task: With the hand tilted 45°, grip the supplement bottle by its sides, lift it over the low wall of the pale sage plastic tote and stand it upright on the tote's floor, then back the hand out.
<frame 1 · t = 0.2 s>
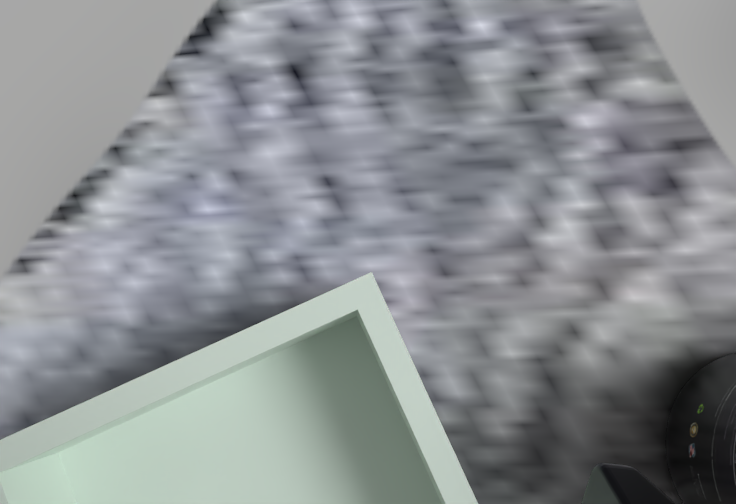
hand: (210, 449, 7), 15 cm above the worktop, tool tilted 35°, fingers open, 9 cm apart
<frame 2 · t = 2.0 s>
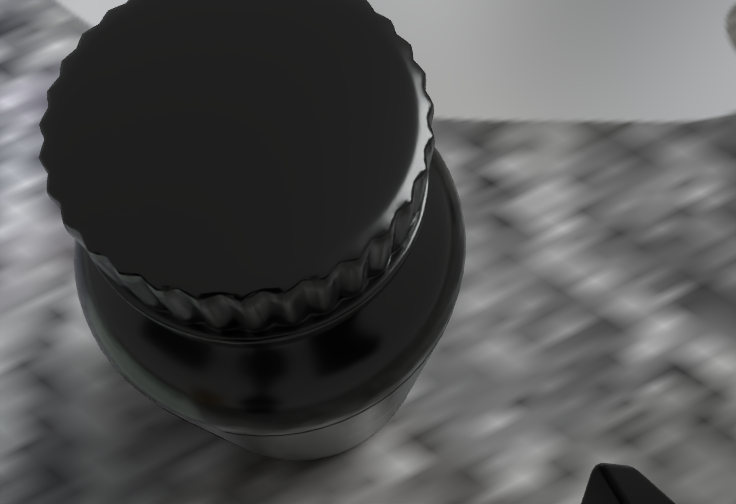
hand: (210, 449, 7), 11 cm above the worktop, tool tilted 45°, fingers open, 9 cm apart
supplement bottle: (301, 342, 19), on the worktop
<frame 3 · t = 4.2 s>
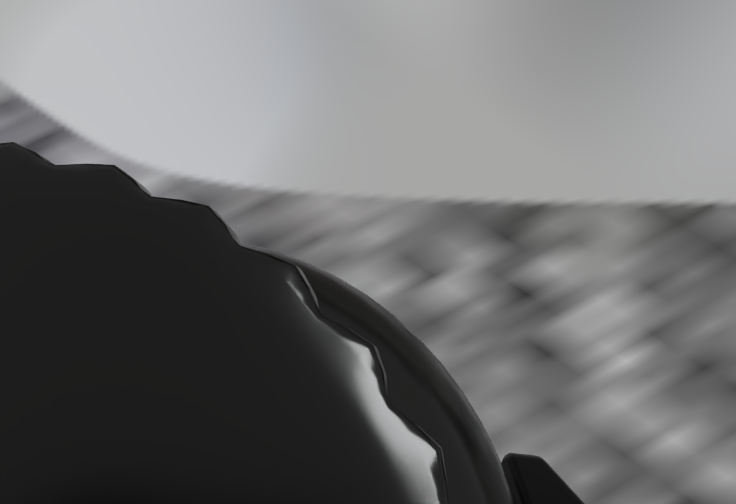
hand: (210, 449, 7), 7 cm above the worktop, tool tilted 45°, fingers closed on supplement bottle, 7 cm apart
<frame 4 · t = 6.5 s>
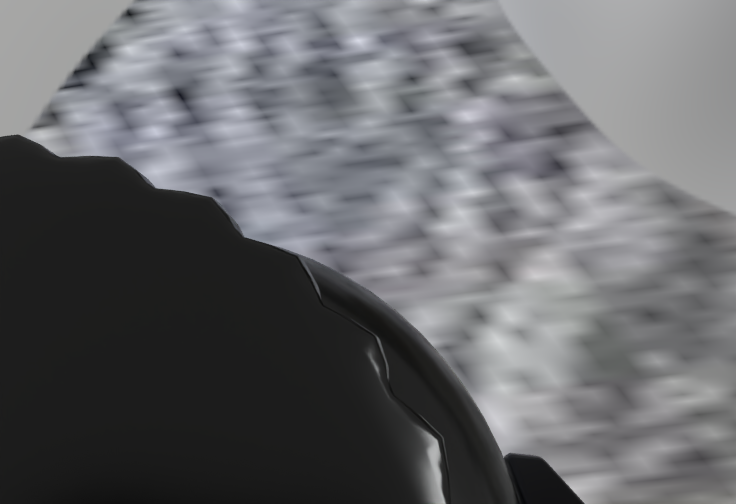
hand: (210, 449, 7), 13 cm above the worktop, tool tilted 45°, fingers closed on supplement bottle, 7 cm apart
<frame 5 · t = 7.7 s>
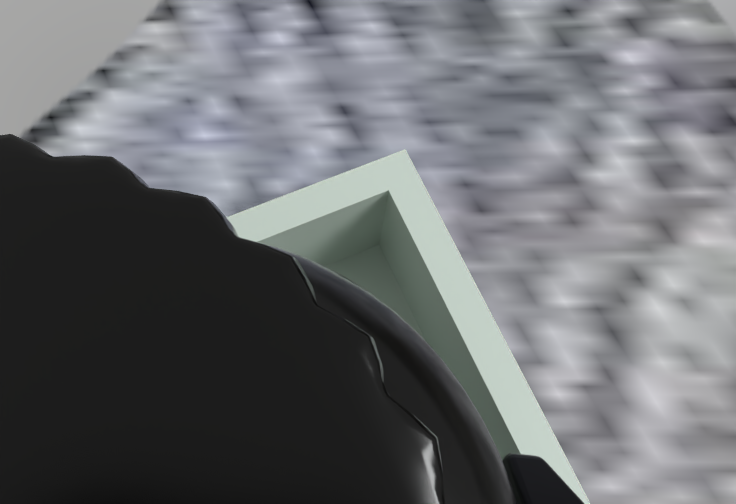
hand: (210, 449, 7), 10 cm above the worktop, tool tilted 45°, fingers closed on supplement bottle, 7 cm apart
when the fingers open (9 cm above the worktop, at t = 8.8 s): supplement bottle drops 1 cm, resting on tote.
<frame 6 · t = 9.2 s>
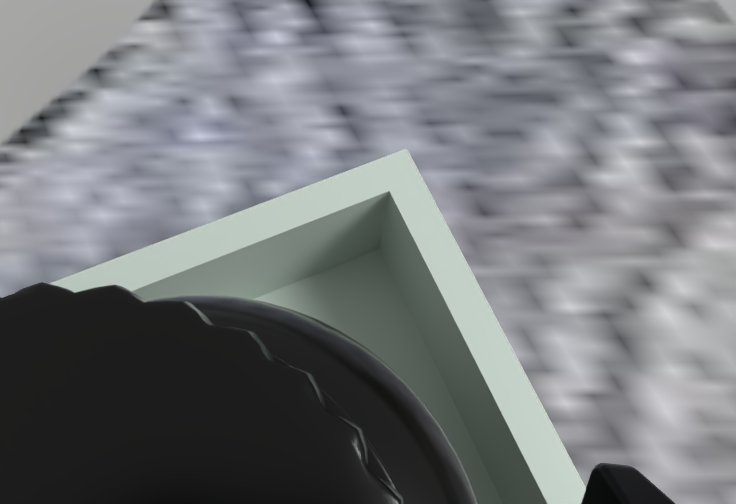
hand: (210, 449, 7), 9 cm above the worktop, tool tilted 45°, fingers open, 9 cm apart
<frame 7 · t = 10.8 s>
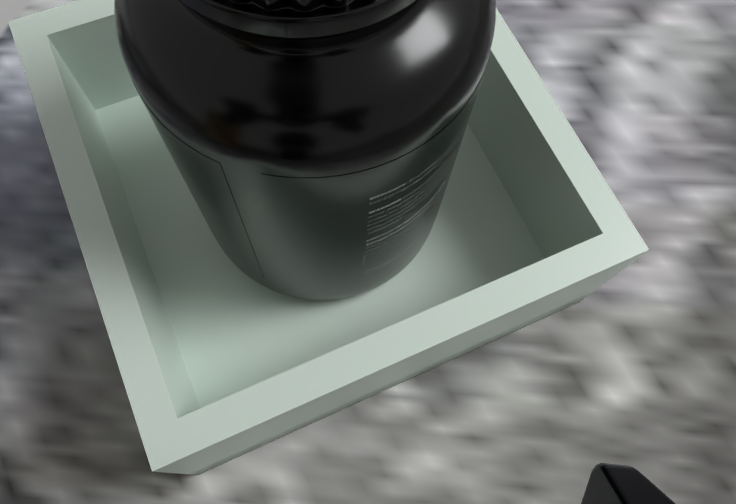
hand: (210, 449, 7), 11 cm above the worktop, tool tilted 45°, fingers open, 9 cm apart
tote: (319, 205, 20), on the worktop
supplement bottle: (321, 199, 19), point 1 cm above the worktop, touching tote
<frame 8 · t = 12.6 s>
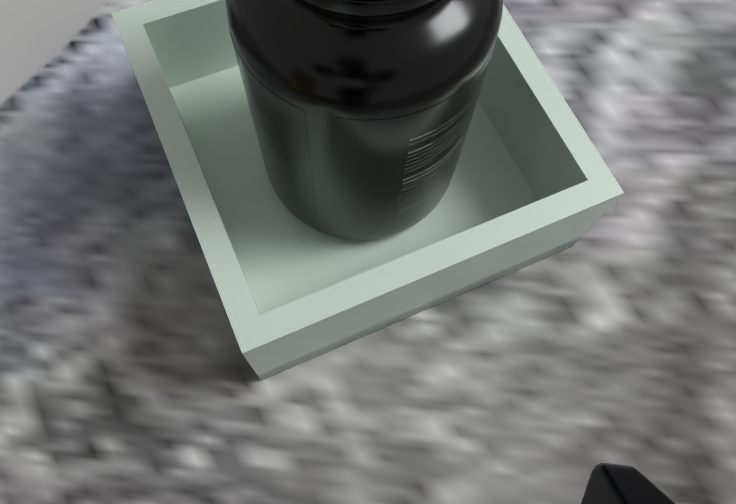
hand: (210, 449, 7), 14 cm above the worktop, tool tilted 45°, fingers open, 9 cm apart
tote: (354, 167, 24), on the worktop
supplement bottle: (357, 162, 23), point 1 cm above the worktop, touching tote
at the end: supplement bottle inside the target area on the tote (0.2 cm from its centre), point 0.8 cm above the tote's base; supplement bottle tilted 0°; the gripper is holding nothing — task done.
